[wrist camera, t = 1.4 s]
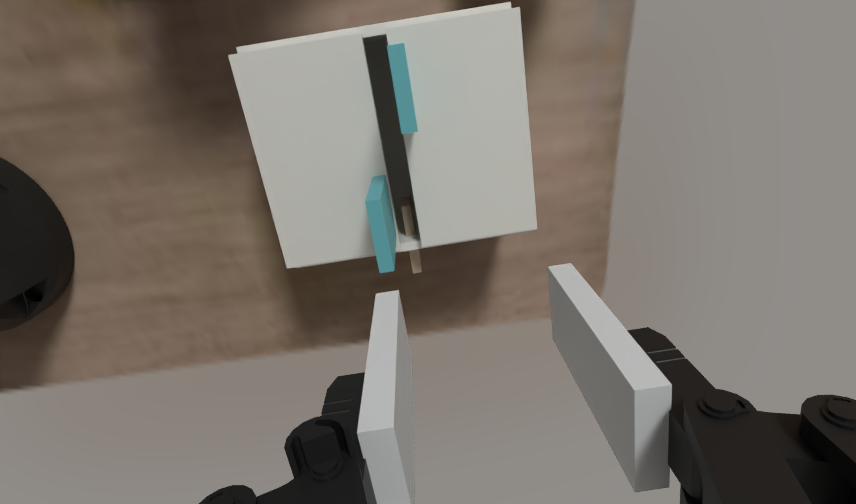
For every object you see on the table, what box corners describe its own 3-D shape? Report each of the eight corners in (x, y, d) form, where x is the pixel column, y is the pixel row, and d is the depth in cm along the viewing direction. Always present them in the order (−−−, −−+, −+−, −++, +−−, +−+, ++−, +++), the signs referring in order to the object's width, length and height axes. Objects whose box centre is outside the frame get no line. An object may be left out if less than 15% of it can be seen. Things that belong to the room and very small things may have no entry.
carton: (322, 256, 42) (303, 298, 34) (271, 50, 36) (236, 47, 29) (510, 226, 41) (532, 262, 34) (489, 15, 36) (510, 1, 28)
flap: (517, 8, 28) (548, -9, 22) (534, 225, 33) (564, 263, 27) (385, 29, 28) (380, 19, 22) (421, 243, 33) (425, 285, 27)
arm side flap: (289, 264, 33) (261, 310, 27) (232, 55, 29) (182, 52, 22) (401, 246, 33) (399, 289, 27) (361, 33, 28) (349, 24, 22)
